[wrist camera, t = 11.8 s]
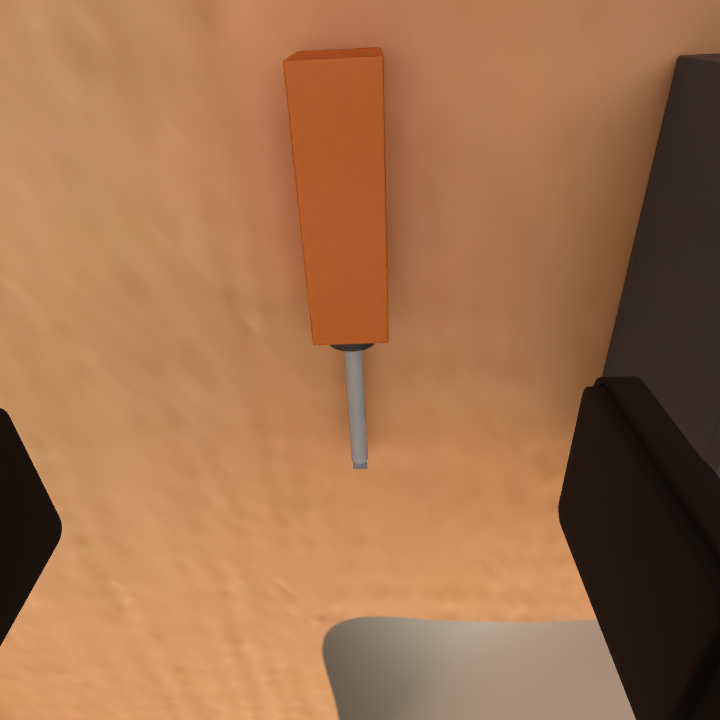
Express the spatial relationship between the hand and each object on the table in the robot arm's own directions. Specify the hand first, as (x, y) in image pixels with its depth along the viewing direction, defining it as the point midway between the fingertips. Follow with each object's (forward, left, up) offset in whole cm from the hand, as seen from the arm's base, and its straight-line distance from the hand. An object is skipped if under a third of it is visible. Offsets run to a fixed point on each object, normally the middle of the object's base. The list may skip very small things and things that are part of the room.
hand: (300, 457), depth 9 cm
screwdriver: (0, +4, -15) cm, 16 cm away
